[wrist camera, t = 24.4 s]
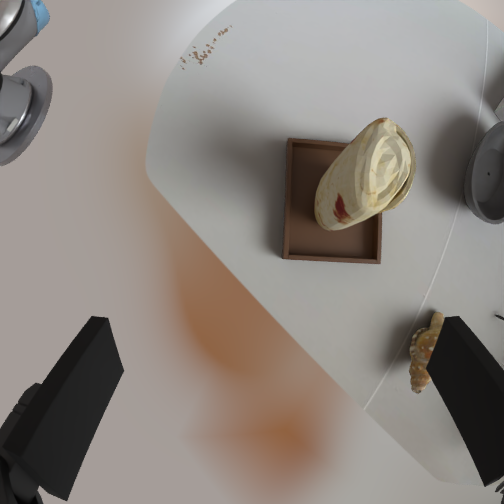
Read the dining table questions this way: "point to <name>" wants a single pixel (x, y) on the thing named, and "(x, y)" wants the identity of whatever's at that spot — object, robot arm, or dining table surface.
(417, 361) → the seashell
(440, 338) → the robot arm
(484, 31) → the dining table surface
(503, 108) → the tray
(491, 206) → the bowl
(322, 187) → the food model
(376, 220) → the serving tray
